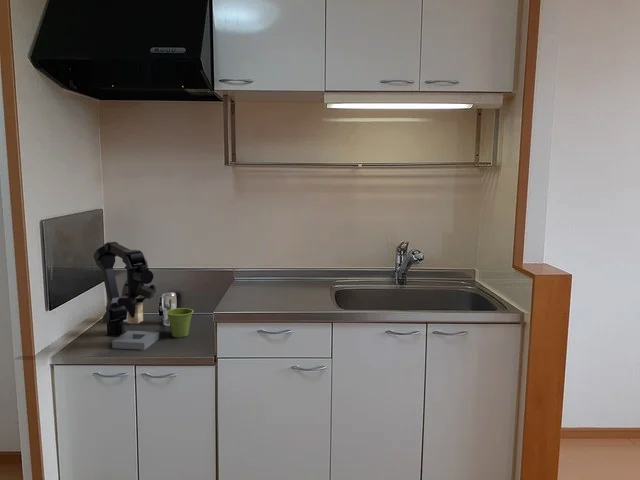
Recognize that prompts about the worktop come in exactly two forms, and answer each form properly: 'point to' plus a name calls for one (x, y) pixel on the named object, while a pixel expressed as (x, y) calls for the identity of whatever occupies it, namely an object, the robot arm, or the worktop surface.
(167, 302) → the beer glass
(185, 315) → the plant pot
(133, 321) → the maple peg
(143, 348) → the socket block
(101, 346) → the worktop surface
